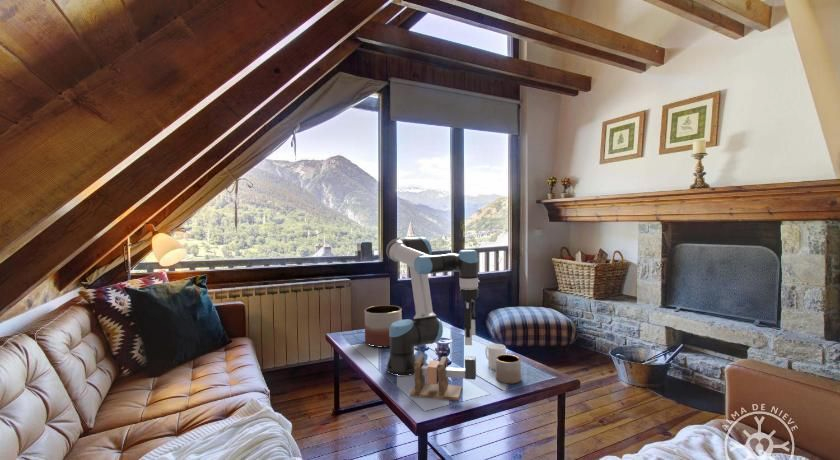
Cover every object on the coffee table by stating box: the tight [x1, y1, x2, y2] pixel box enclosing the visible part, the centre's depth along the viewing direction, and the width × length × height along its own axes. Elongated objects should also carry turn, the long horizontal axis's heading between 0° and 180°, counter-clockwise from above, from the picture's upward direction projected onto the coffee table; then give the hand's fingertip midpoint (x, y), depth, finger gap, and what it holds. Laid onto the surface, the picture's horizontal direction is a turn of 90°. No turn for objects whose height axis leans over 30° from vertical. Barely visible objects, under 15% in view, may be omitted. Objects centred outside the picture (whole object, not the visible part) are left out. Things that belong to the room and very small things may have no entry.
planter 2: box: [495, 354, 522, 385], centre depth 176 cm, size 11×11×10 cm
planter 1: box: [364, 304, 403, 348], centre depth 233 cm, size 22×22×20 cm
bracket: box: [409, 354, 463, 401], centre depth 165 cm, size 20×11×14 cm, turn 76°
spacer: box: [426, 360, 440, 384], centre depth 165 cm, size 4×7×7 cm, turn 166°
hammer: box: [421, 355, 477, 380], centre depth 163 cm, size 24×4×8 cm, turn 76°
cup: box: [485, 343, 507, 371], centre depth 192 cm, size 8×12×10 cm
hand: (470, 339), depth 161 cm, fingers open, 13 cm apart
